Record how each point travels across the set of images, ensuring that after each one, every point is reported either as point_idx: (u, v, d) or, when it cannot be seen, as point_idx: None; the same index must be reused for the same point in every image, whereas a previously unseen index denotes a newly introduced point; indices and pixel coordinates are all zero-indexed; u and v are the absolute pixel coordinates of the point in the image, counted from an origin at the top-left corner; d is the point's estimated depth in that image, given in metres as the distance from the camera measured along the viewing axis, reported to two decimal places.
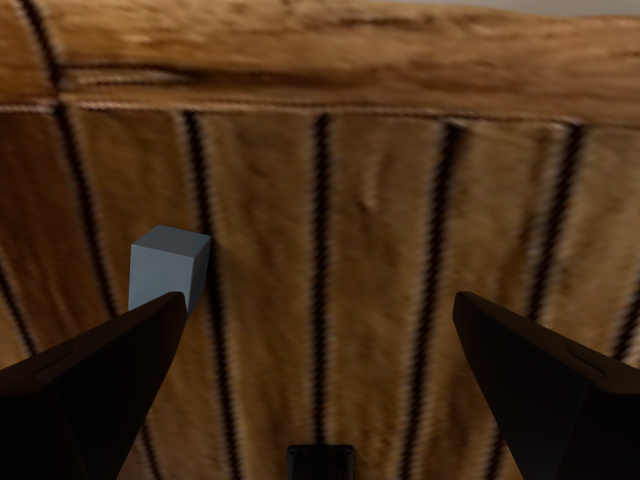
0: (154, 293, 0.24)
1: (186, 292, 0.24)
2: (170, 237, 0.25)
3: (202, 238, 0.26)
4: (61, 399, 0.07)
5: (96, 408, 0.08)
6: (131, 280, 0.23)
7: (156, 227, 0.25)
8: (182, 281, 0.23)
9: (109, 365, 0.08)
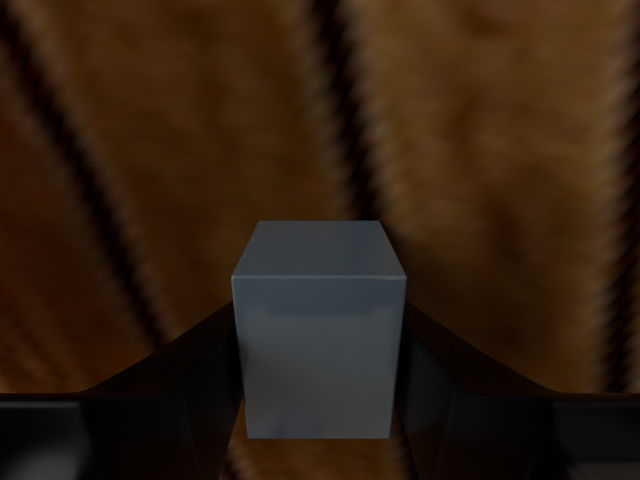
0: (306, 387, 0.09)
1: (390, 369, 0.09)
2: (307, 240, 0.10)
3: (368, 228, 0.11)
4: (189, 399, 0.07)
5: (209, 408, 0.08)
6: (244, 369, 0.09)
7: (260, 226, 0.11)
8: (377, 345, 0.09)
9: (217, 365, 0.08)
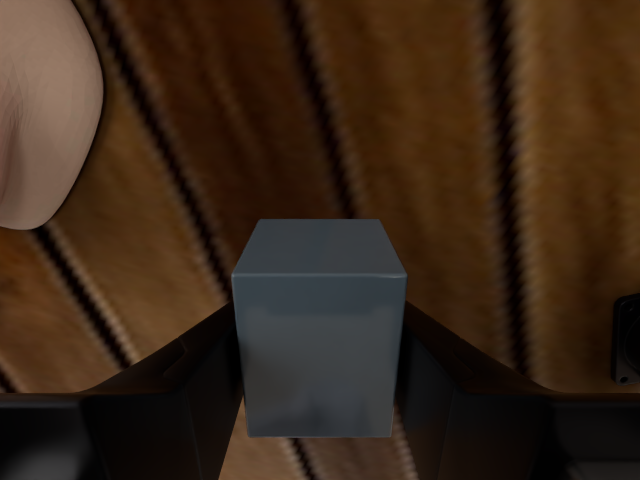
0: (307, 386, 0.09)
1: (391, 368, 0.09)
2: (307, 238, 0.10)
3: (369, 226, 0.11)
4: (189, 399, 0.07)
5: (209, 408, 0.08)
6: (245, 367, 0.09)
7: (261, 225, 0.11)
8: (378, 343, 0.09)
9: (217, 365, 0.08)
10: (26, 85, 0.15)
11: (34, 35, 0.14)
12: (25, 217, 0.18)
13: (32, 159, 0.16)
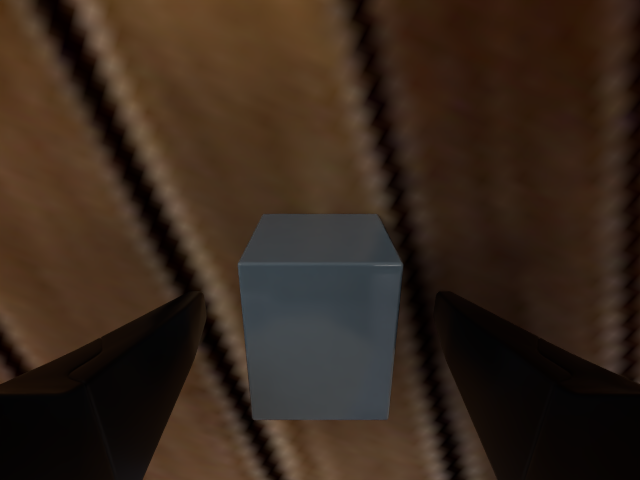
0: (309, 370, 0.10)
1: (387, 353, 0.09)
2: (308, 231, 0.10)
3: (367, 220, 0.11)
4: (94, 399, 0.07)
5: (125, 408, 0.08)
6: (250, 352, 0.09)
7: (264, 219, 0.11)
8: (375, 329, 0.09)
9: (137, 365, 0.08)
10: None
11: None
12: None
13: None
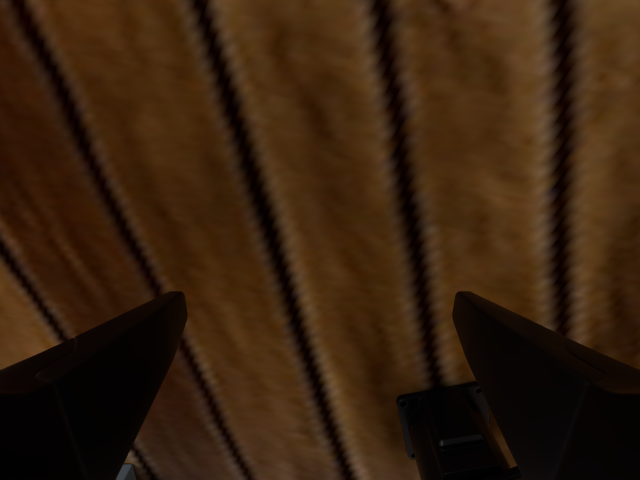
0: None
1: None
2: None
3: (121, 473, 0.28)
4: (61, 399, 0.07)
5: (96, 408, 0.08)
6: None
7: None
8: None
9: (109, 365, 0.08)
10: None
11: None
12: None
13: None
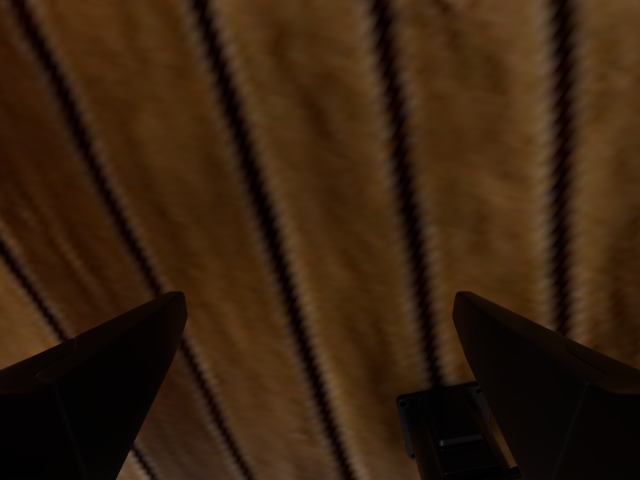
0: None
1: None
2: None
3: None
4: (61, 399, 0.07)
5: (96, 408, 0.08)
6: None
7: None
8: None
9: (109, 365, 0.08)
10: None
11: None
12: None
13: None
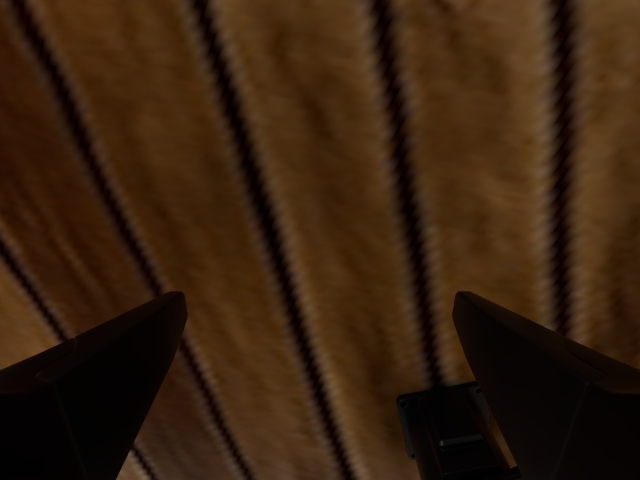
0: None
1: None
2: None
3: None
4: (61, 399, 0.07)
5: (96, 408, 0.08)
6: None
7: None
8: None
9: (109, 365, 0.08)
10: None
11: None
12: None
13: None
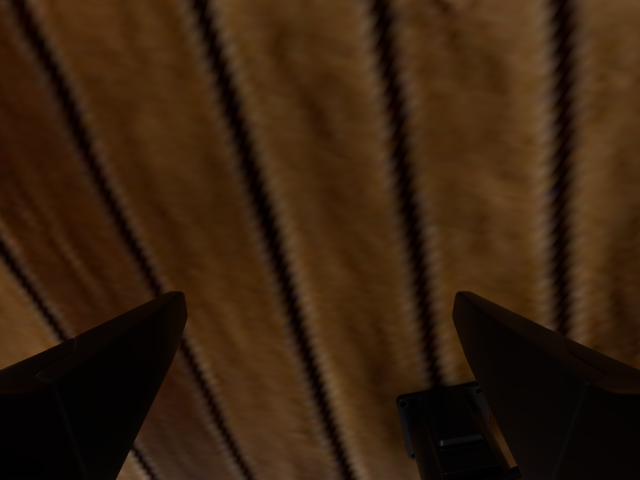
0: None
1: None
2: None
3: None
4: (61, 399, 0.07)
5: (96, 408, 0.08)
6: None
7: None
8: None
9: (109, 365, 0.08)
10: None
11: None
12: None
13: None
